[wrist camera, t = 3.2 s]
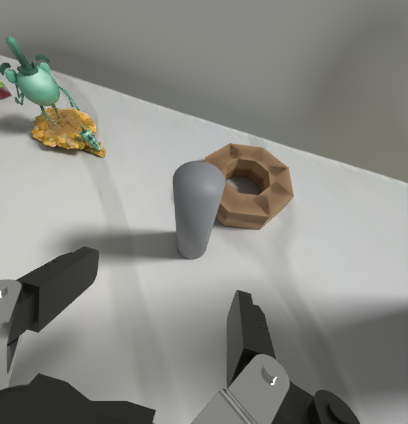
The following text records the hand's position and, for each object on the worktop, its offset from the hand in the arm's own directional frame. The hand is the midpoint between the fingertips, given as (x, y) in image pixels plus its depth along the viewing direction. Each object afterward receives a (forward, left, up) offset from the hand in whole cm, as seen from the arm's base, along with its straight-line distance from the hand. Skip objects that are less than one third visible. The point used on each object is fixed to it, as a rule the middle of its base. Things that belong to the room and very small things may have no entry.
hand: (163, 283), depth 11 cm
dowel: (-1, -8, -14) cm, 16 cm away
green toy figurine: (+23, -26, -15) cm, 38 cm away
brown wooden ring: (-8, -18, -14) cm, 24 cm away
